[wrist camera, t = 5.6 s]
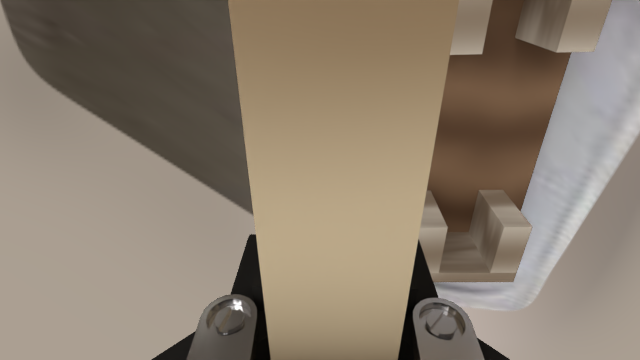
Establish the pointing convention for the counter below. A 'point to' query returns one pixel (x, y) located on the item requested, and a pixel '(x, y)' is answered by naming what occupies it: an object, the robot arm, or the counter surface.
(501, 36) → the board
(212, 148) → the counter surface
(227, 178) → the counter surface
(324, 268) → the slat
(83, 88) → the counter surface
